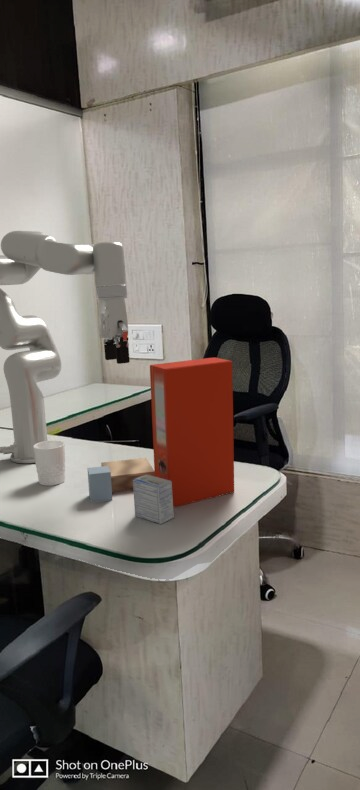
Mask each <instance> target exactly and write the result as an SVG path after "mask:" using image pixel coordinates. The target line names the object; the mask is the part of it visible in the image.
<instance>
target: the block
mask: <svg viewBox="0 0 360 790" xmlns="http://www.w3.org/2000/svg"><path fill="white" fill-rule="evenodd" d="M86 469H87V480H88V481H87V482H88V483H87V484H88V494H89V496H88V497H89V499H90V502H91V503H100V502H108V501H113V492H112V486H111V472H110V469H109V467H108V466H94V467H87V468H86Z"/></svg>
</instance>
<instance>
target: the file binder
mask: <svg viewBox="0 0 360 790" xmlns="http://www.w3.org/2000/svg"><path fill="white" fill-rule="evenodd" d="M149 376H150V377H149V378H150V398H151V399H150V401H151V422H152V423H151V424H152V445H153V449H152V450H153V464H154V465H153V470H154V471H155V477H158V478H162V479H166V480H170V481H171V482H172V496H173V508H175V507H176V508H177V507H179V506H183V505H187V504H191V503H196V502H200V501H203V500H208V499H212V498H213V499H214V498H216V496H217V497H220V496H219V495H221V496H223V495H222V494H225V495H227V494H226V493H229V494H231V493H230V492H233V493H235V462H234V461H235V460H234V459H235V458H234V457H235V453H234V451H235V450H234V448H235V447H234V443H235V441H234V392H233V390H234V389H233V388H234V387H233V361H232V360H229V359H224V358H219V357H205V358H198V359H189V360H182V361H171V362H164V363H155V364H150V365H149Z"/></svg>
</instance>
